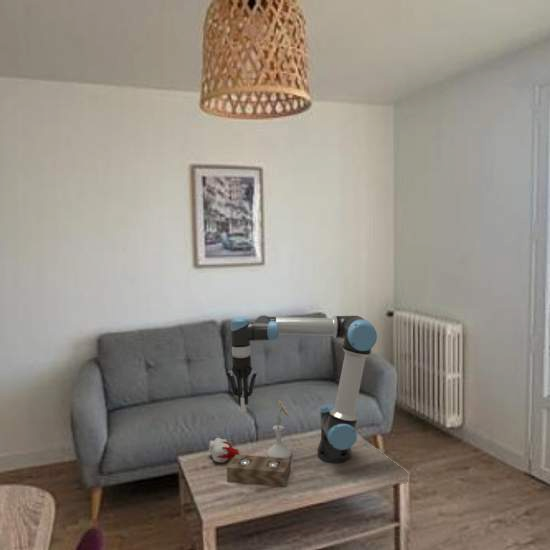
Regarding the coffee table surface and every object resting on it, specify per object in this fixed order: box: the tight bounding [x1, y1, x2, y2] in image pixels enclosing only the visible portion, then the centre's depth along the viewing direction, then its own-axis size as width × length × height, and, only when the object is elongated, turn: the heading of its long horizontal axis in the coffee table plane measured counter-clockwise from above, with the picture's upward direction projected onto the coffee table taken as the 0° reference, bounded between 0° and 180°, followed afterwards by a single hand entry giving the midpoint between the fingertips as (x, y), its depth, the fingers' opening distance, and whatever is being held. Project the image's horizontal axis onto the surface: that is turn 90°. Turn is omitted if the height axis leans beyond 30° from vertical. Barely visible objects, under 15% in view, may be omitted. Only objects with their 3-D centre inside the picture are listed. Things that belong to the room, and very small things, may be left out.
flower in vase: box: [266, 400, 293, 459], centre depth 224 cm, size 13×11×25 cm
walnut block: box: [226, 454, 292, 488], centre depth 207 cm, size 24×12×6 cm, turn 77°
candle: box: [208, 437, 240, 464], centre depth 223 cm, size 9×11×15 cm
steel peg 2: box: [268, 462, 278, 467], centre depth 205 cm, size 4×4×6 cm
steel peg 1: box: [240, 459, 250, 465], centre depth 208 cm, size 4×4×6 cm
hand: (243, 411), depth 206 cm, fingers closed
